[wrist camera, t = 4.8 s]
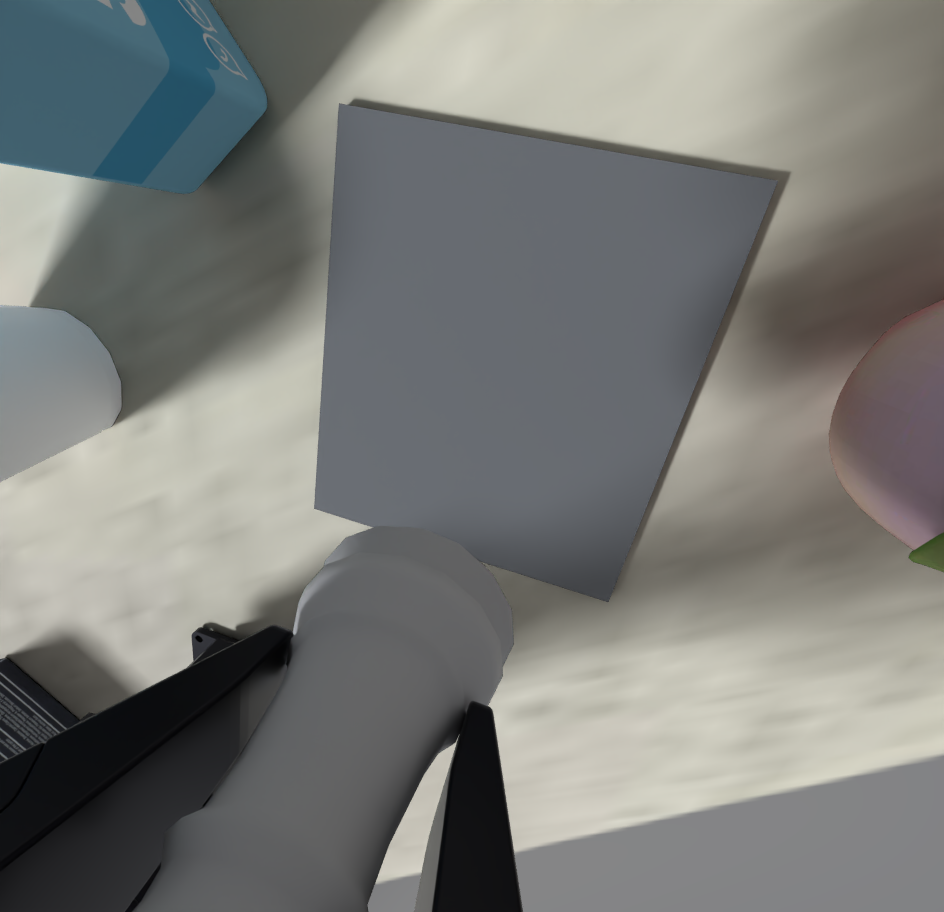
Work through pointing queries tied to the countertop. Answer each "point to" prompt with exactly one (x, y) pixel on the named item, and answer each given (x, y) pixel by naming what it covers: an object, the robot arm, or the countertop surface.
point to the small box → (27, 712)
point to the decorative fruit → (897, 434)
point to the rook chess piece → (344, 730)
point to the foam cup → (51, 386)
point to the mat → (516, 335)
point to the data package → (123, 90)
